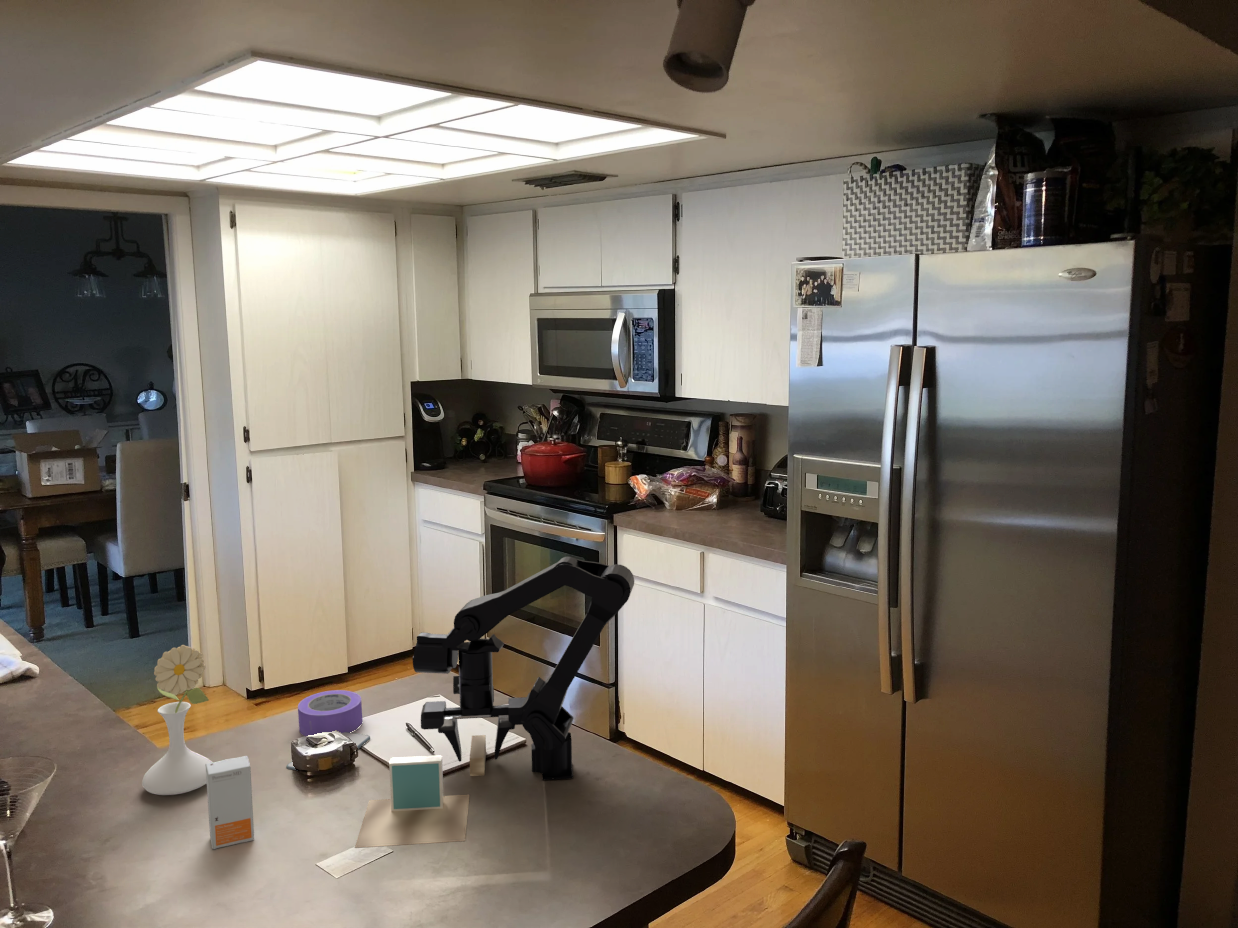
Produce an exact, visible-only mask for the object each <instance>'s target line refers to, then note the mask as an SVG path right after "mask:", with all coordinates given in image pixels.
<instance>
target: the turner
mask: <svg viewBox="0 0 1238 928" xmlns="http://www.w3.org/2000/svg"><path fill="white" fill-rule="evenodd" d="M486 737H487V736H486V734H482V735H481V734H480V735H479V734H478V735H471V741H470V750H469V751H470V753H469V776H470V777H477V776H479V777H480V776H485V773H486V771H485V770H486V756H487V746H486V745H487V744H486V743H487V741H486Z"/></svg>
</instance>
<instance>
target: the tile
mask: <svg viewBox="0 0 1238 928" xmlns="http://www.w3.org/2000/svg"><path fill="white" fill-rule="evenodd" d="M388 764H389V766H388V767H389V768H388V769H389V789H390V791H389V792H390V799H391V811H406V810H423V809H440V808H443V804H444V796H445V795H444V775H443V774H444V773H443V770H444V768H443V754H439V755H438V754H437V755H417V756H416V755H415V756H399V757H390V760H389V763H388Z"/></svg>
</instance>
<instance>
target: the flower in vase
mask: <svg viewBox="0 0 1238 928" xmlns="http://www.w3.org/2000/svg"><path fill="white" fill-rule="evenodd" d="M156 662H157V665H156V666H155V667H154V668H153V669H154V672H153V674H154V676H155V679H154V680H155V681H156V682H157V684H156V689H157V690H158V692H159V694H161V695H163V696H165V697H167V698H169V699H173V700H176V702H175V701H174V702H169V703H166V704H164V705H161V706H160V707H159V708H158V709H157V713H158V714H159V715H160V716H162V718H163V719H164V721H165V724H166V727H167V732H168V738H169V741H168V742H169V747H168V750H167V752H165V754H164V755H163V756H162V757H161V758H159V760H157V761H156V762H155V763H154V764H153V765H152V766H150V768H149V769H148V770H147V771H146V772H145V774H144V775H143V778H142V780H141V786H142V787H143V789H144V790H145V791H147V792H148V793H149V794H153V795H159V796H174V795H180V794H185V793H188V792H189V793H190V792H191V791H195V790H197V789H199V788H202V787H203V786H205V785H207V780H206V766H205V764H207V763H213V761H212V760H210V758H208V757H206V756H204V755H202V754H200V753H197V752H196V751H193V750H191V749H190V748H188V747H187V745H186V742H185V734H184V733H185V732H184V729H185V720H186V716H187V714H188V711H189V710H190V708H191V707H192V705H191V704H193V705H198V704H202V703H205V702H206V703H207V702H208V701H210V700H209V698H208V696H207V695H206V694H205V693H204V691H203V690H202V689H201V688H200V687H196V686H197V685H198V684H199V679H201V678H203V674H204V672H205V670H206V669H207V668H206V664H204V662H205V659H204V658H203V653H202V652H200V651H199V650H198V649H196V648H192V647H191V646H188V645H185V644H181V645H180V646H178V647H172V648H170V650H169V651H164V652H163V653H162V656H161V658H158V659H157V661H156ZM182 693H183V695H182V696H181V698H180V699H179V698H178V697H177V695H178V694H182ZM185 697H187V699H188V701H189V702H187V701H183V700H184V699H185Z"/></svg>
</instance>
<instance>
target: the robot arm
mask: <svg viewBox="0 0 1238 928" xmlns="http://www.w3.org/2000/svg"><path fill="white" fill-rule="evenodd" d="M565 586H566V587H569V588H572V589H574V590H576V591H578V592H580V593H582V594H583V595H584V596H587V597H590V598H591V599H590V602H589V606H588V609H587V612H586V614H585V615H584V617H583V620H582V621H581V623H580V625H579V626H578V628H577V630H576V631H575V633H574V635H573V637H572V638H571V640H570V642H569V644H568V645H567V647H566V649H565V651H564V652H563V654H562V655H561V657H560V659H559V661H558V663H557V665H556V666H555V667H554V670H553V671H552V673H551V674H550V675H549V676H548V678H546V679H545V680H544V679H542V678H541V676H538V677H537V679H536V680H535V682H534V685H533V686H532V687H531V689H530V692H528V694H527V696H526V697H525V696H524V697H523V696H522V697H508V698H507V699H508V703H507V704H501V705H494V702H495V689H494V687H495V686H494V685H493V684H494V681H493V680H494V679H493V676H494V675H493V653H499V652H500V651H501V649H502V648H503V646H504V645H505V643H504V641H502V640H501V639H499V638H498V637H497V636H496V634H494V633H492V634H491V635H490V637H489V638H484V637H485V635H486V634H488V633H489V632H490V631H492V630H493V629H494V628H495V627H496V626H498V625H499V624H500V623H502V621H503V620H504V619H506V618H507V617H509V615H511V614H514V613H515V612H517V611H519V610H520V609H523V608H524V607H527V606H529V605H530V604H532V603H535V602H537V601H538V600H540V599H542V598H544V597H546V596H548V595H549V594H551V593H553V592H555V591H557V590H558V589H561V588H563V587H565ZM634 586H635V578H634V574H633V572H632V571H631V569H630V568H628V567H627V566H625V565H623V564H616V563H615V564H611V565H608V564H605V563H602V562H596V561H588V560H582V559H579V558H576V557H572V556H564V557H562V558H560V560H558V561H557V562H556V563H554V564H551V565H550V566H548V567H546V568H544V569H541V571H539V572H537V573H535V574H533V575H531V576H529V577H527V578H526V579H525V578H524V579H523V580H521V581H520V582H518V583H516V584H514V585H512V586H510V587H508V588H506V589H504V590H502V591H499V592H496V593H490V594H486V595H482V596H479V597H477V598H474V599H471V600H469V601H468V602H467V603H466V604H464V605H463V606H462V608H461V609H460V610H459V611H458V612H457V614H455V616H454V619H453V628H452V629H451V630H450V631H449V632H448V633H446V634H444V633H430V632H420V633H419V634H418V635H417V636H416V644H415V647H414V652H413V656H412V668H413V671H414V672H415V673H421V674H443V675H445V674H447V675H449V674H450V672H452V669H456V667H457V665H458V675H454V676H453V678H452V679H453V681H452V685H453V686H452V692H453V695H459V707H447V702H446V700H440V701H438V700H437V701H425V703H424V704H423V705H422V708H421V713H420V729H421V730H437V733H439V734H443V735H444V736H445V738H447V740H448V742H449V744H450V746H451V747H452V749H453V751H454V753H455V756H456V758H457V761H458V762H462V760H463V759H462V757H463V756H462V755H463V754H462V745H461V739H460V733H459V727H458V726H459V724H458V720H462V719H463V720H466V719H484V718H497V725H496V726H497V727H496V733H495V734H496V735H495V742H494V743H495V744H494V760H498V759H499V755H500V752H501V750H502V749H501V748H502V746H503V743H504V741H505V739H506V737H507V736H508V733H509V731H510V730H514V729H516V726H520V725H522V727H523V728H524V730H525V731H526V732H527V733H529V736H530V738H531V741H532V743H531V745H530V746H531V748H530V750H531V772H532V773H536V774H542V775H541V777H542V780H543V781H547V780H548V781H549V780H550V781H551V780H565V779H566V780H567V779H573V778H574V769H573V746H572V745H573V744H572V743H573V742H572V741H573V740H572V734H571V732H570V729H571V728H572V727H571V726H572V724H573V721H574V716H573V715H572V714H571V713H570V712H569V711H567V710H566V708H565V707H563V704H564V701H565V699H566V696H567V693H568V690H569V687H570V685H571V684H572V682H573V681H574V679H575V677H576V675H577V674H578V672H579V670H580V668H581V667H582V665H583V663H584V661H585V660H586V658H587V657H588V655H589V654H590V651H591V650H592V648H593V647H594V645H595V643H596V642H597V640H598V638H599V636H600V634H601V632H602V631H603V629H604V628H605V627H606V625H607V624H608V623H609V622H610V621H611V620H612V619H613V618H614V617H615V616H616V615H617V614H618V612H619V611H620V610H621V609H622V608H623V607H624V605H625V604H627V602H628V601H629V599H630V596H631V594H632V591H633V589H634Z"/></svg>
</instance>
